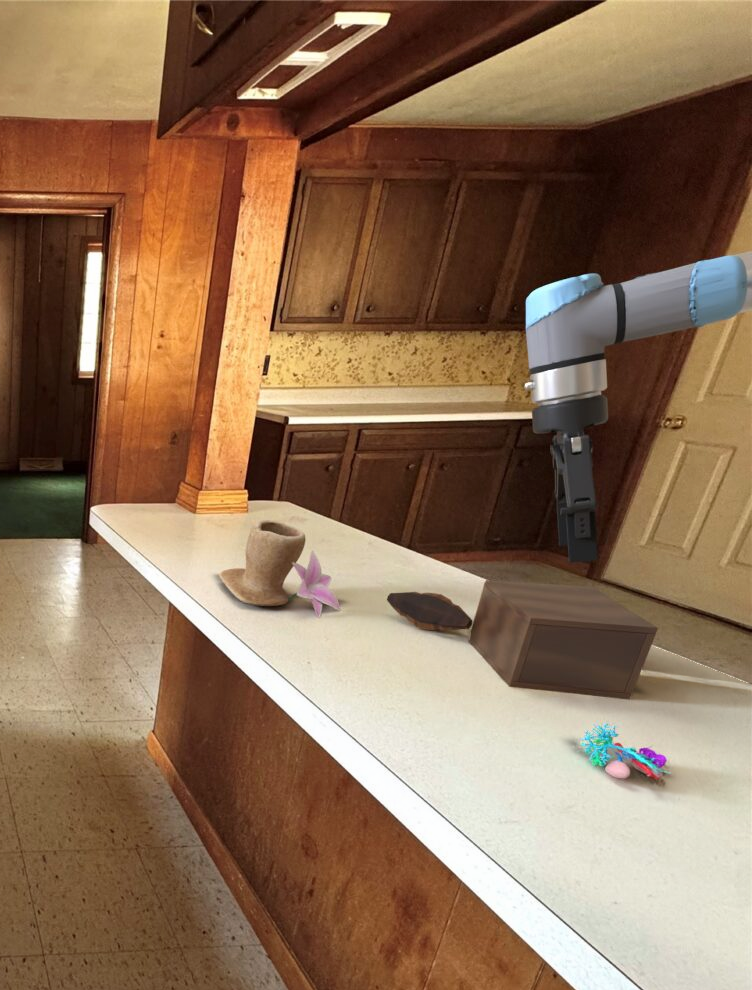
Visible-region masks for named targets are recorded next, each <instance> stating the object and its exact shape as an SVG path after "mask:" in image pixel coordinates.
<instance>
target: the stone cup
mask: <svg viewBox="0 0 752 990" xmlns="http://www.w3.org/2000/svg"><path fill="white" fill-rule="evenodd" d="M305 544H306V533H305V532H303V531H302V530H301V529H299V528H297V527H295V526H293V525H290V524H286V523H285V522H281V521H275V520H270V519H263V520H262V519H261V520H259V521H257V522H255V523H254V524H253V525H252V526H251V527H250V530H249V533H248V536H247V541H246V545H245V568H241V567H240V568H239V567H238V568H228V569H224V570H222V571H220V573H219V576H218V577H219V578H220V580H221V581H222V582H223V584H224V585H225V586H226V588H227V589H228V590H229V592H230V593H231V594H232V595H233V596H234V597H235V598H236V599H237V600H239V601H240V602H242V603H244V604H247V605H250V606H260V607H276V606H281V605H285V604H288V603H287V601H288V600H289V598H288V596H287V593H286V590H285V589H284V582H285V580H286V578H287V577H288V575H289V573H290V572H291V571H292V569H293V568H294V566H293V564H292V562H294V563H298V560H299V559H300V557H301V556H302V553H303V551H304V548H305Z"/></svg>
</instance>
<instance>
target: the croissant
mask: <svg viewBox="0 0 752 990" xmlns="http://www.w3.org/2000/svg"><path fill="white" fill-rule="evenodd" d="M386 602H387V603H388V604H389V605H390V606H391V608H392V609H394V611H395V612H396V613H397V614H398V615H399V616H401V617H404V618H406V619H407V621H408V622H409V623H410V624H411V625H413V626H415V627H416V628H418V629H420V630H430V631H432V630H433V631H434V630H440V631H443V632H446V631H447V632H448V631H463V630H469V629H470V628H472V625H473V621H474V620H473V619H472V618H471V617H470V616H469V615H468V614H467V612H466V611H465V610H464V609H463V608H462V607H461V606H460V605H458V604H455V603H454V602H453V601H452V599H450V598H449V597H447V596H445V595H443V594H441V593H437V592H422V593H421V592H418V591H406V592H405V591H404V592H390V593H389V594H388V595H387V597H386Z"/></svg>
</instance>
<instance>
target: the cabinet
mask: <svg viewBox="0 0 752 990" xmlns="http://www.w3.org/2000/svg"><path fill="white" fill-rule="evenodd" d="M484 583H485V585H484V584H483V586H484V588H483V587H482V590H483V592H482V591H481V593H482V595H481V594H480V597H481V599H480V598H479V600H480V602H479V601H478V604H479V606H478V605H477V607H478V610H477V609H476V611H477V613H476V612H475V614H476V617H475V616H474V618H475V620H474V619H473V621H474V624H473V623H472V625H473V627H472V626H471V629H472V631H471V630H470V634H469V638H468V643H469V644H470V645H471V646H472V647H473V648H474V649H475V651H476V652H477V653H478V654H479V655H480V656H481V657H482V658H483V659H484V661H485V662H486V663H487V664H488V665H489V666H490V667H491V668H492V670H494V672H495V673H496V674H497V675H498V676H499V677H500V678H501V679H502V680H503V682H504V683H505V684H506V685H507V687H509V688H517V689H529V690H538V691H545V692H556V693H557V692H558V693H566V694H574V695H575V694H576V695H584V696H593V697H604V698H613V699H623V700H624V699H625V700H631V698H632V696H633V693H634V691H635V688H636V685H637V684H638V680H639V679H640V675H641V673H642V670H643V668H644V666H645V664H646V663H645V662H646V660H647V657H648V655H649V653H650V650H651V647H652V646H653V643H654V640H655V637H656V636H657V635H656V634H657V632H658V629H659V627H658V626H657V625H654V624H652V623H651V622H649V621H648V620H647V619H645V618H643V617H642V616H640V615H638V614H637V613H635V612H634V611H632V610H631V609H629V608H627V607H626V606H624V605H623V604H621V603H620V602H618V601H616V600H615V599H614V598H612V597H610V596H609V595H607V594H605V593H604V592H602V591H600V589H598V588H596V587H594V586H585V585H570V584H569V585H568V584H553V583H539V582H538V583H537V582H525V581H523V582H522V581H509V580H508V581H507V580H492V579H485V582H484Z"/></svg>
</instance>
